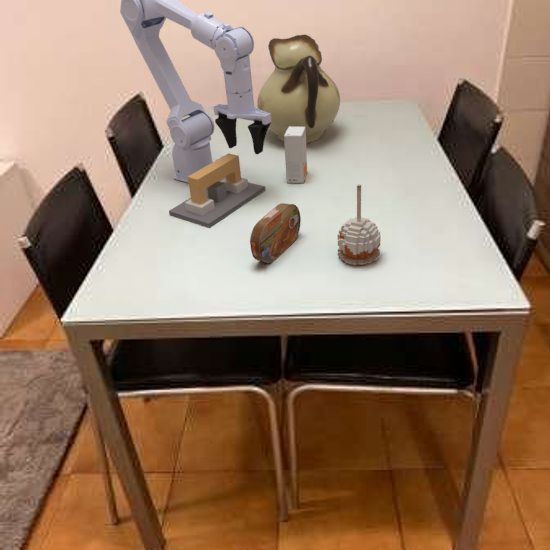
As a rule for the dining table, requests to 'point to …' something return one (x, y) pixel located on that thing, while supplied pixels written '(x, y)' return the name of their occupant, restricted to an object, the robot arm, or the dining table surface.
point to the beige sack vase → (298, 89)
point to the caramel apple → (359, 238)
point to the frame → (213, 176)
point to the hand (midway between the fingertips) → (245, 149)
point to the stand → (218, 202)
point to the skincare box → (295, 154)
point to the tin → (275, 232)
